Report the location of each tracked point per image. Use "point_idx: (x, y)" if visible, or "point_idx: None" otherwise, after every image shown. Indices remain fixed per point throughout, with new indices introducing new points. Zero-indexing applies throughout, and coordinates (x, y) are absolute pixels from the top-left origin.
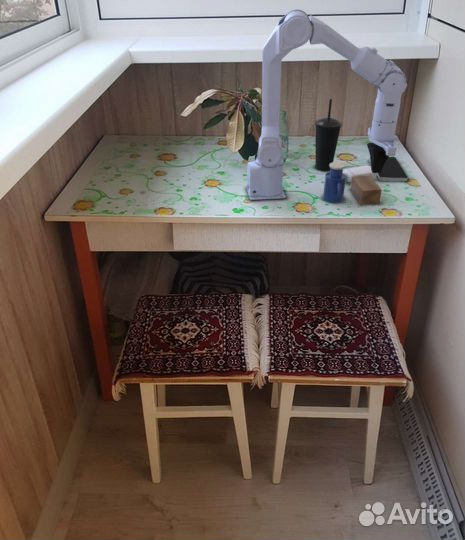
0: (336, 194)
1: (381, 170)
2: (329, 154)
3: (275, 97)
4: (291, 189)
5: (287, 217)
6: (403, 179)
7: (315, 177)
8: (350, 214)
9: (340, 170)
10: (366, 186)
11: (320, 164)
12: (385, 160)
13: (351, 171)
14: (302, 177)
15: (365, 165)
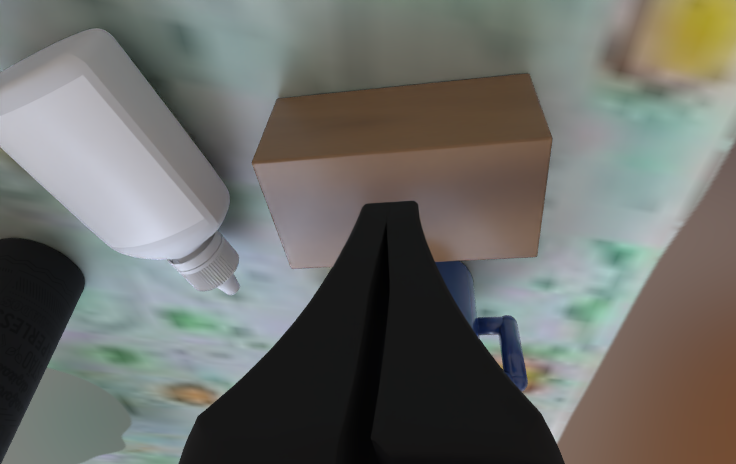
0: (495, 333)
1: (417, 213)
2: (23, 348)
3: None
4: None
5: (568, 412)
6: None
7: (180, 310)
8: (619, 247)
9: None
10: (469, 225)
11: (69, 316)
12: (458, 309)
13: (171, 240)
14: (198, 347)
15: None
